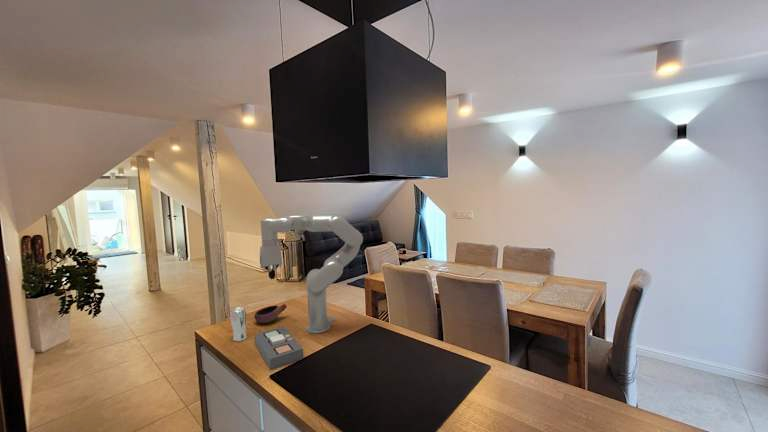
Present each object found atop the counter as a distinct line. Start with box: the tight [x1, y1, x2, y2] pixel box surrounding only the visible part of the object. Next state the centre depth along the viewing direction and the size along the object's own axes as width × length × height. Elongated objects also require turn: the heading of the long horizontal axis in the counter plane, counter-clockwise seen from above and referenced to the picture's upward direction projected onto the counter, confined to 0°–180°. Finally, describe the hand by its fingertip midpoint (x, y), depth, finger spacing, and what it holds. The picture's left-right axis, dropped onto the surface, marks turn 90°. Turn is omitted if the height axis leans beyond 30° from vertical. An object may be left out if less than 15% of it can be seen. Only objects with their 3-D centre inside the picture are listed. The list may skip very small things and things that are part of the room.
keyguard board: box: [253, 326, 304, 370], centre depth 145 cm, size 14×28×5 cm, turn 34°
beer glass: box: [230, 306, 248, 342], centre depth 157 cm, size 7×7×15 cm
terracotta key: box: [275, 345, 292, 355], centre depth 137 cm, size 6×6×3 cm
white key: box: [269, 334, 285, 346], centre depth 145 cm, size 6×6×3 cm
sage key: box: [265, 331, 280, 339], centre depth 152 cm, size 6×6×3 cm
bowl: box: [253, 303, 288, 324], centre depth 178 cm, size 16×13×8 cm
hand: (272, 278), depth 159 cm, fingers closed
